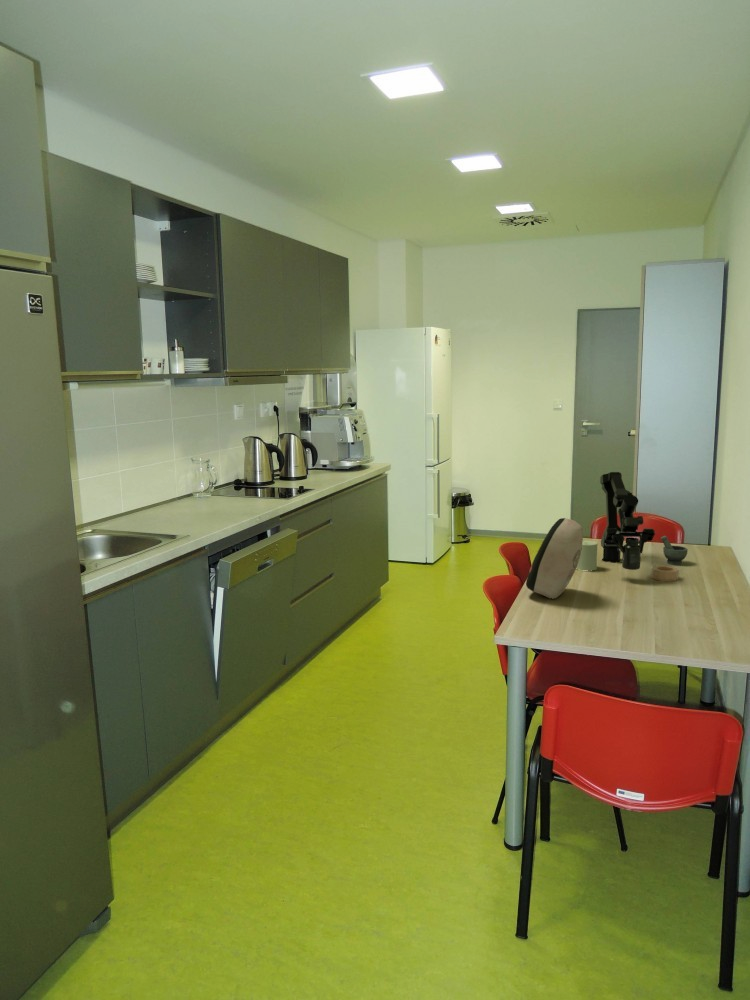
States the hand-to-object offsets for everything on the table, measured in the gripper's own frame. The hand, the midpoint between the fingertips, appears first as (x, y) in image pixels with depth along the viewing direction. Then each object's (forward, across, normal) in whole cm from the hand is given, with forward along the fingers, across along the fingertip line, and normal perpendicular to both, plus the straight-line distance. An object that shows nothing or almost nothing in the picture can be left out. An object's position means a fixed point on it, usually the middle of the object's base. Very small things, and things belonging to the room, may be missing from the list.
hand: (632, 552), depth 287 cm
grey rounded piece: (+22, -33, -5) cm, 40 cm away
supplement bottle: (+4, 0, +6) cm, 7 cm away
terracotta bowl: (+4, +15, +13) cm, 20 cm away
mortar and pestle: (-13, +26, +31) cm, 42 cm away
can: (-6, -14, +23) cm, 28 cm away
